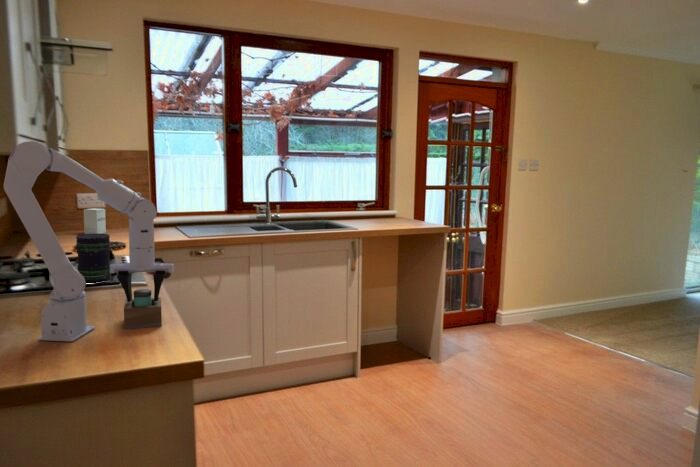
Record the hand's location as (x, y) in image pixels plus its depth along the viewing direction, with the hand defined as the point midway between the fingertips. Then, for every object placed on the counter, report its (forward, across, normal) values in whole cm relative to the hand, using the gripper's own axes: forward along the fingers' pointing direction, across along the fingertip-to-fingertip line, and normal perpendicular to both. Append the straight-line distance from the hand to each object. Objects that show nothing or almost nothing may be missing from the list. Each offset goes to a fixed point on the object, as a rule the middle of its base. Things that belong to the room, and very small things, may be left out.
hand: (143, 300), depth 127 cm
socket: (+6, 0, 0) cm, 6 cm away
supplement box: (+6, -49, +148) cm, 156 cm away
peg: (+5, 0, 0) cm, 5 cm away
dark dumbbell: (+6, -4, +52) cm, 53 cm away
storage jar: (+6, -23, +45) cm, 51 cm away
